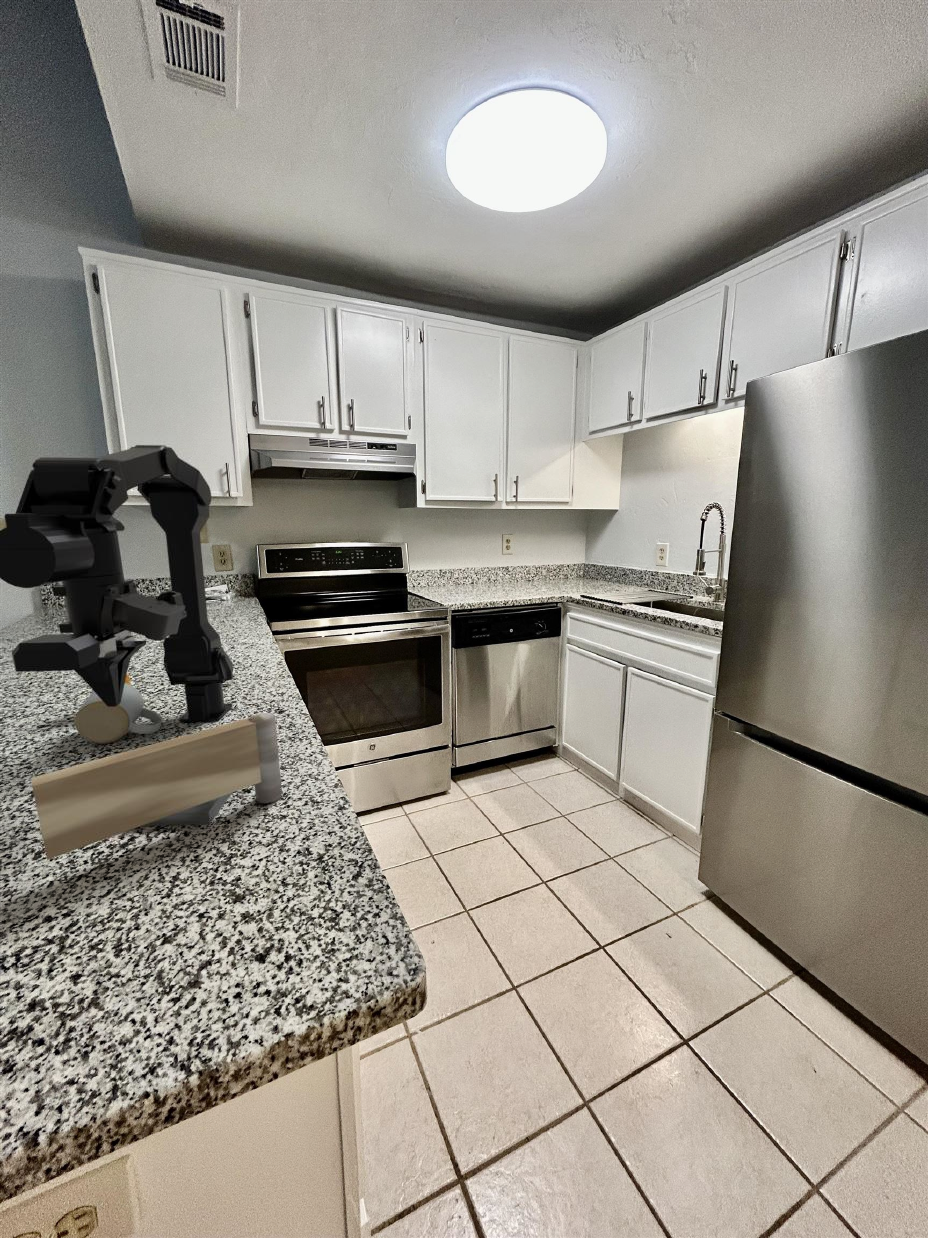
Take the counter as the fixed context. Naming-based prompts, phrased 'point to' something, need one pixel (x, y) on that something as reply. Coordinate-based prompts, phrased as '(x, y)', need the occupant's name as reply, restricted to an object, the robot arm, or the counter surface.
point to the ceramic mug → (114, 717)
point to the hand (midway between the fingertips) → (114, 705)
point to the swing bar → (156, 782)
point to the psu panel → (193, 814)
